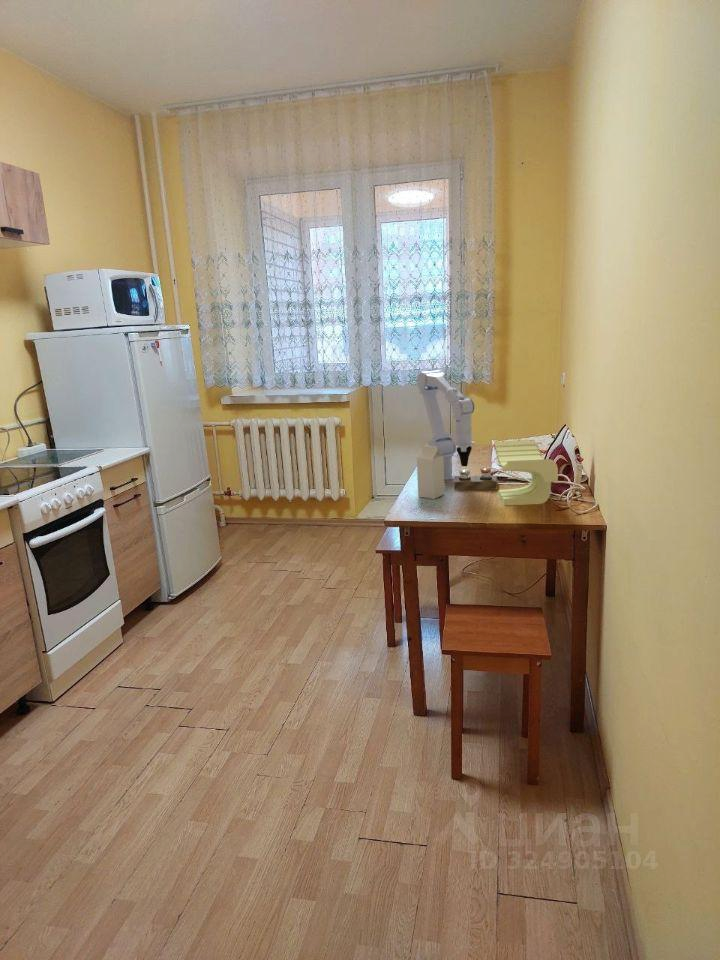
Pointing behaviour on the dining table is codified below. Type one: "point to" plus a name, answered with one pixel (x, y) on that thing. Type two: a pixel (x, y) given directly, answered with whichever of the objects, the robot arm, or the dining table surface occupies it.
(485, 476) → the copper push button
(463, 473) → the grey plunger
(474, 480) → the console
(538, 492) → the slatted curved stool
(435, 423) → the robot arm
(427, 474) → the milk carton
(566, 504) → the dining table surface
